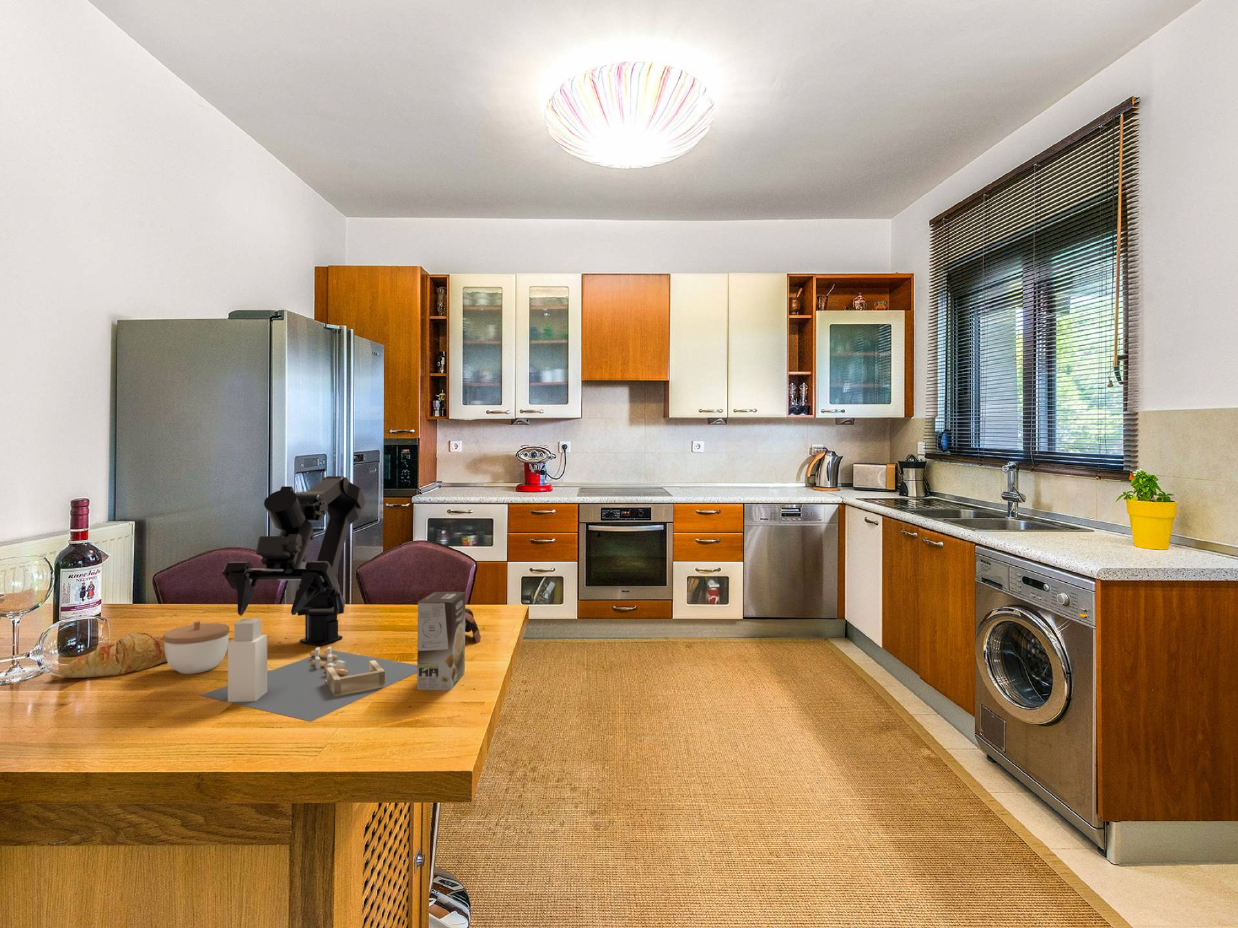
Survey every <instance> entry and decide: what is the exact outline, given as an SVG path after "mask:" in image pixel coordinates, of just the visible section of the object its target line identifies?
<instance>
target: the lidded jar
mask: <svg viewBox="0 0 1238 928" xmlns="http://www.w3.org/2000/svg"><path fill="white" fill-rule="evenodd" d="M229 633H230V626H229V625H228V624H225V623H219V622H217V623H215V622H209V623H208V622H206V623H201V621H199V620H198V621H194V622H193V624H188V625H184V626H179V627H174V628H171V629H169V630H168V631H165V632H164V633H163V635H162V637H163V640H164V652H165V657H166V660H167V662H166V663H167V664H168V665H169V667H171V668H172V670H174V671H175V672H177V673H179V674H185V675H186V674H187V675H188V674H189V675H192V674H198V673H199V674H200V673H203V672H207V671H210V670H213V669H214V668H216V667H217V666H218V665H219V664H220V663H221V662H222V661H223V659H224V658H225V655H226V654H227V653H228V642H230V640H229V637H230V634H229Z"/></svg>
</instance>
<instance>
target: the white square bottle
mask: <svg viewBox="0 0 1238 928" xmlns="http://www.w3.org/2000/svg"><path fill="white" fill-rule="evenodd" d="M233 628H234V629H233V632H234V633H233V634H234V636H233V639H231V640H229V642H228V648H227V686H228V702H227V703H229V702H246V701H256V700H258V699H259V698H260V697H261V696H263V695H264V694H265V693H266V692H267V672H268V634H262V618H242V619H240V620H238V621H237V622H234V625H233Z"/></svg>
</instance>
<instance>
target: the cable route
mask: <svg viewBox="0 0 1238 928" xmlns="http://www.w3.org/2000/svg"><path fill="white" fill-rule="evenodd" d="M332 650H333V649H332V646H328V647H327V648H326V651H327V653H323V652H321V647H319V646H318V647H315V650H311V651H310V652H309V657H311V656H314V657H315V660H312V661H311V665H314V666H315V668H316V669H317V670H318V669H320V667H325V668H324V671H325V672H326V675H327V668H330V667H333V668H334V670H335V671H336V673H337V674H340V675H345V676H346V675H347V674H348V670H345V662H344V661H340V660H338V661H336V664H334V663H333V660H336V659H337V655H332ZM320 658H325V659H327V662H323V661H320Z"/></svg>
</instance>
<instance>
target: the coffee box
mask: <svg viewBox="0 0 1238 928" xmlns="http://www.w3.org/2000/svg"><path fill="white" fill-rule="evenodd" d="M465 609H466V591H433V592H432V593H430V594H428V595H427V596H425V597H423V598H422V599H420V600H417V658H416V659H417V662H416V663H417V664H416V665H417V673H416V675H417V677H416V679H417V681H416V690H418V691H452V690H453V688H454V687H455V686H456V685H457V684H458V682H459V681H460V680H461V679H462V678H463V676H464V675H465V674H466V673H465V672H466V671H465V668H466V667H465V666H466V632H465Z"/></svg>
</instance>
